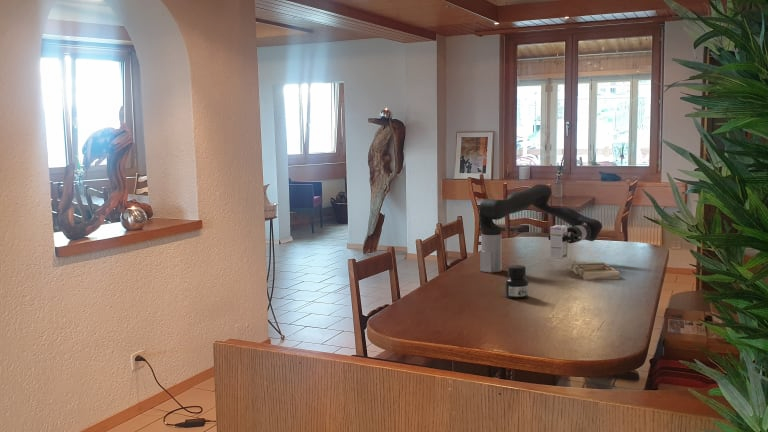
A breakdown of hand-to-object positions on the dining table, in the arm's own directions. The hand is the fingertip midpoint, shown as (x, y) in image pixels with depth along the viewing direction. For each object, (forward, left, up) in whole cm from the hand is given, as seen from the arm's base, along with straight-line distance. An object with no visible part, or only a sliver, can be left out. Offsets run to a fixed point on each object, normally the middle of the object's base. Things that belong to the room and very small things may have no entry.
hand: (556, 238), depth 313 cm
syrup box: (+2, 0, -9) cm, 10 cm away
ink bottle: (-46, -10, -17) cm, 50 cm away
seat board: (+11, -13, -16) cm, 23 cm away
